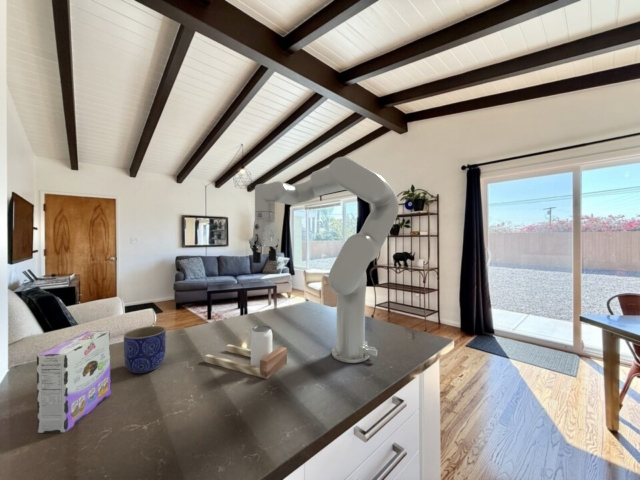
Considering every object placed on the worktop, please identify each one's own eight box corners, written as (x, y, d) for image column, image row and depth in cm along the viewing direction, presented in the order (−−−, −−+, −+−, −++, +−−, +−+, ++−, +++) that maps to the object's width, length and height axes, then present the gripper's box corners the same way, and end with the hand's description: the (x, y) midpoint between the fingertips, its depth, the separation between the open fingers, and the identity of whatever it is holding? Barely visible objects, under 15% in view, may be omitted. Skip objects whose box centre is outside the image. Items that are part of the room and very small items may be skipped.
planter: (174, 362, 89) (174, 327, 88) (144, 379, 78) (143, 340, 78) (147, 358, 92) (146, 324, 91) (114, 374, 81) (114, 336, 81)
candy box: (87, 395, 70) (86, 330, 70) (112, 394, 71) (111, 330, 71) (35, 434, 57) (34, 353, 56) (66, 432, 57) (65, 353, 57)
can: (269, 372, 82) (269, 332, 82) (247, 372, 83) (248, 331, 82) (274, 362, 89) (274, 325, 88) (254, 362, 89) (254, 324, 89)
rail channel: (286, 363, 88) (286, 347, 88) (266, 378, 79) (266, 361, 78) (228, 349, 98) (228, 335, 98) (205, 361, 89) (205, 346, 89)
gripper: (258, 215, 97) (258, 264, 97) (285, 218, 113) (285, 260, 113) (241, 215, 100) (241, 263, 101) (270, 218, 116) (270, 259, 116)
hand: (264, 261), depth 107 cm, fingers open, 9 cm apart
